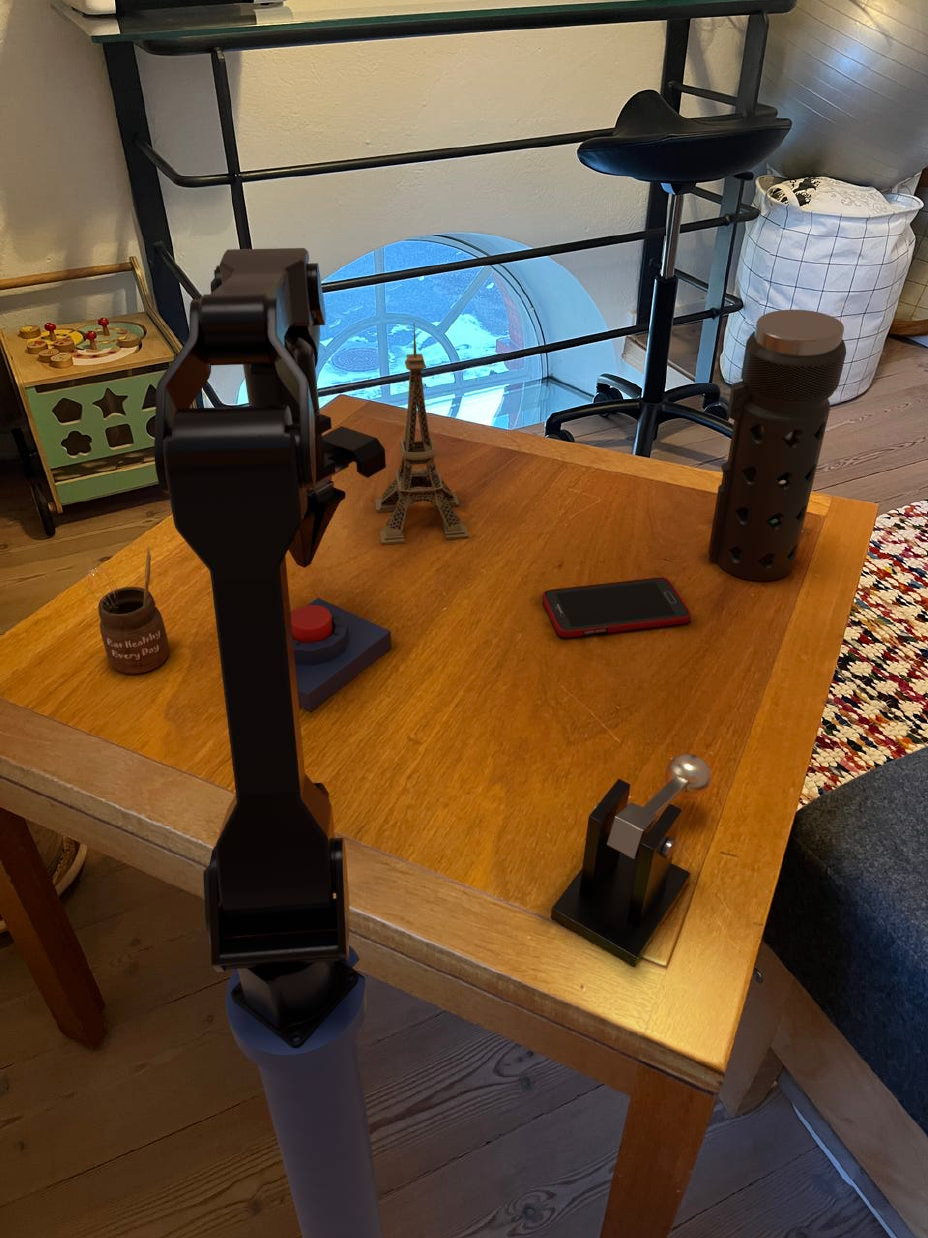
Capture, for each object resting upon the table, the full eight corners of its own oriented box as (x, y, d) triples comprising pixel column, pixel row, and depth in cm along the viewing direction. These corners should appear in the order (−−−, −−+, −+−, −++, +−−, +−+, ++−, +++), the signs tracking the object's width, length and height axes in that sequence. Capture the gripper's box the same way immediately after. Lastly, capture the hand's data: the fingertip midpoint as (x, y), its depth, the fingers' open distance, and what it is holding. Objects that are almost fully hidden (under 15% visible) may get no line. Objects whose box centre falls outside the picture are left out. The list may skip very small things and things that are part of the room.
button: (312, 648, 88) (311, 634, 87) (282, 634, 89) (280, 619, 88) (341, 628, 90) (339, 614, 89) (311, 614, 92) (309, 600, 91)
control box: (310, 712, 86) (306, 679, 83) (236, 672, 90) (230, 640, 88) (391, 647, 94) (390, 616, 91) (320, 613, 98) (316, 583, 96)
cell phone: (693, 623, 97) (694, 616, 96) (559, 640, 94) (559, 632, 94) (666, 583, 103) (667, 575, 102) (539, 597, 100) (540, 590, 100)
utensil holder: (107, 646, 94) (77, 547, 86) (170, 633, 95) (146, 535, 88) (111, 682, 89) (80, 580, 82) (177, 667, 91) (153, 566, 84)
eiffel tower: (381, 544, 109) (368, 339, 94) (375, 501, 118) (362, 306, 103) (468, 537, 111) (469, 334, 96) (456, 495, 119) (455, 302, 104)
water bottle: (714, 584, 103) (806, 582, 103) (753, 344, 85) (865, 341, 85) (697, 537, 110) (784, 535, 110) (731, 307, 93) (834, 304, 93)
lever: (670, 777, 76) (681, 740, 75) (710, 796, 74) (723, 759, 73) (595, 847, 65) (607, 804, 63) (641, 871, 63) (654, 828, 62)
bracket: (608, 840, 74) (621, 753, 68) (688, 882, 70) (709, 795, 65) (550, 918, 68) (558, 830, 62) (634, 968, 65) (652, 881, 59)
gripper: (294, 353, 86) (310, 499, 95) (129, 421, 73) (167, 581, 83) (385, 380, 80) (393, 532, 90) (225, 458, 68) (253, 625, 78)
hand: (303, 564), depth 85 cm, fingers closed
